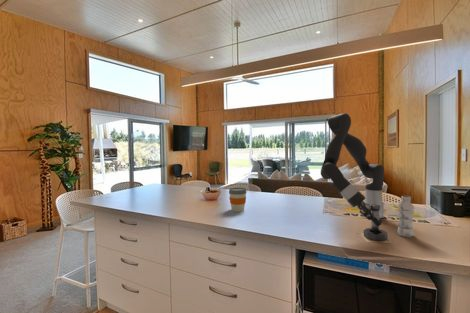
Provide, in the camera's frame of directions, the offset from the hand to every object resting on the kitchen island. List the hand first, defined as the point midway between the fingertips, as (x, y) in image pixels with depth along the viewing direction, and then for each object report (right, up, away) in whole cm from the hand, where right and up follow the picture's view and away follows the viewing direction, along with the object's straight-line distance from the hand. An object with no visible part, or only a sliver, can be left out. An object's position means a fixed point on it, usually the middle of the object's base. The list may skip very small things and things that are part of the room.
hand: (380, 224), depth 115 cm
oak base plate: (-1, -8, +1) cm, 8 cm away
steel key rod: (-2, -6, +1) cm, 6 cm away
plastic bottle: (+15, -8, +4) cm, 17 cm away
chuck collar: (-2, -7, +1) cm, 7 cm away
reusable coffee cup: (-66, -7, +60) cm, 90 cm away
